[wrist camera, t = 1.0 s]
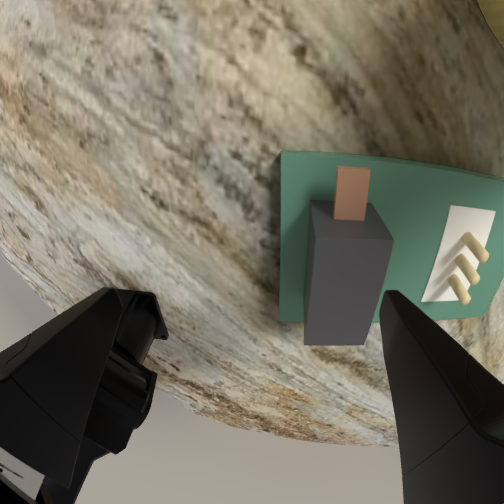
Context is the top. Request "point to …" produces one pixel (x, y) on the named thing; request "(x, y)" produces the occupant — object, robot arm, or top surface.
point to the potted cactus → (494, 17)
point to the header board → (404, 230)
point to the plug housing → (344, 262)
